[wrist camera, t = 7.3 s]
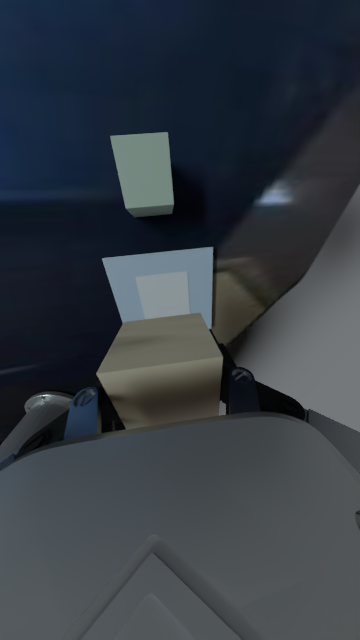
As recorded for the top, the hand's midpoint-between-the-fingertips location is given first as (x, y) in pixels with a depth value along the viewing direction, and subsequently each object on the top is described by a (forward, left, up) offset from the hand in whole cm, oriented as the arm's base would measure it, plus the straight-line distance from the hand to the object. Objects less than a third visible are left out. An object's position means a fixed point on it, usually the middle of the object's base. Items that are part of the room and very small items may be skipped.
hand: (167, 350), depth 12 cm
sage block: (+14, 0, -14) cm, 20 cm away
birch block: (0, 0, -1) cm, 1 cm away
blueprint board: (0, 0, -14) cm, 14 cm away
